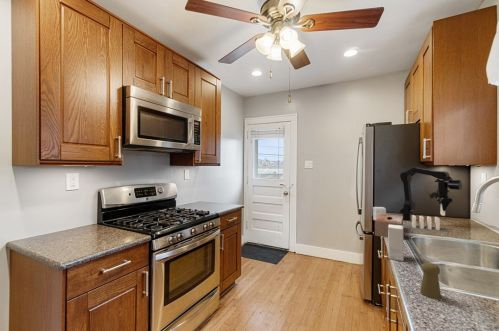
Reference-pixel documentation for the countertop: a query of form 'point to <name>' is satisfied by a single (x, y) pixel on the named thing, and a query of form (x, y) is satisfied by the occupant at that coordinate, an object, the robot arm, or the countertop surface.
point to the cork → (430, 281)
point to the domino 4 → (442, 210)
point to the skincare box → (395, 242)
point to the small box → (378, 211)
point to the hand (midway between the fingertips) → (442, 210)
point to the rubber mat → (427, 228)
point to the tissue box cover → (386, 223)
